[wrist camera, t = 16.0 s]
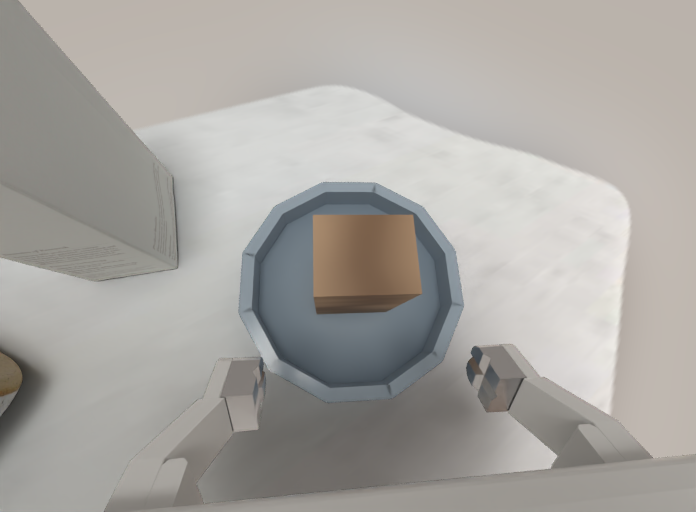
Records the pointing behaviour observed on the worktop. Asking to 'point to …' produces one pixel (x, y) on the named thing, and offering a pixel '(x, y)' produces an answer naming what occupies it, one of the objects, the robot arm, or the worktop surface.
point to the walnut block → (364, 263)
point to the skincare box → (73, 168)
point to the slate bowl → (348, 328)
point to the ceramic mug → (8, 381)
